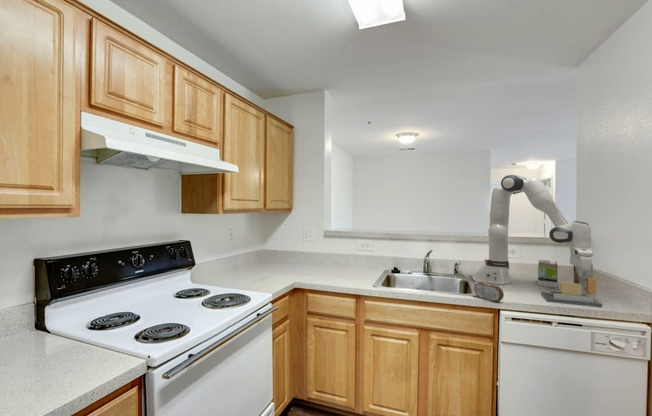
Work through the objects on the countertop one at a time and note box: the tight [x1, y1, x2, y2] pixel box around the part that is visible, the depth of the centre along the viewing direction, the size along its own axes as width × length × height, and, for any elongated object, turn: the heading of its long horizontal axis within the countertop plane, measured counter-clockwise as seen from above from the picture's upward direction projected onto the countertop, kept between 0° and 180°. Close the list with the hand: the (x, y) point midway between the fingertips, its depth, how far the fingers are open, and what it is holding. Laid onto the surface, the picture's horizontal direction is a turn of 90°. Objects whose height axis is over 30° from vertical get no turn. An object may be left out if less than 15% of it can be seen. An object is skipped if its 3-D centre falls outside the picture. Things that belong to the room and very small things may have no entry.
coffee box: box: [573, 264, 594, 292], centre depth 178 cm, size 9×6×16 cm
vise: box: [540, 291, 603, 308], centre depth 156 cm, size 22×14×4 cm, turn 66°
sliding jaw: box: [548, 278, 597, 300], centre depth 157 cm, size 19×2×10 cm, turn 66°
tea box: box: [537, 259, 559, 289], centre depth 190 cm, size 15×10×15 cm, turn 143°
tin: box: [473, 282, 504, 303], centre depth 159 cm, size 15×3×8 cm, turn 30°
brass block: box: [559, 281, 582, 296], centre depth 155 cm, size 4×8×8 cm, turn 66°
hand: (579, 275), depth 164 cm, fingers closed
